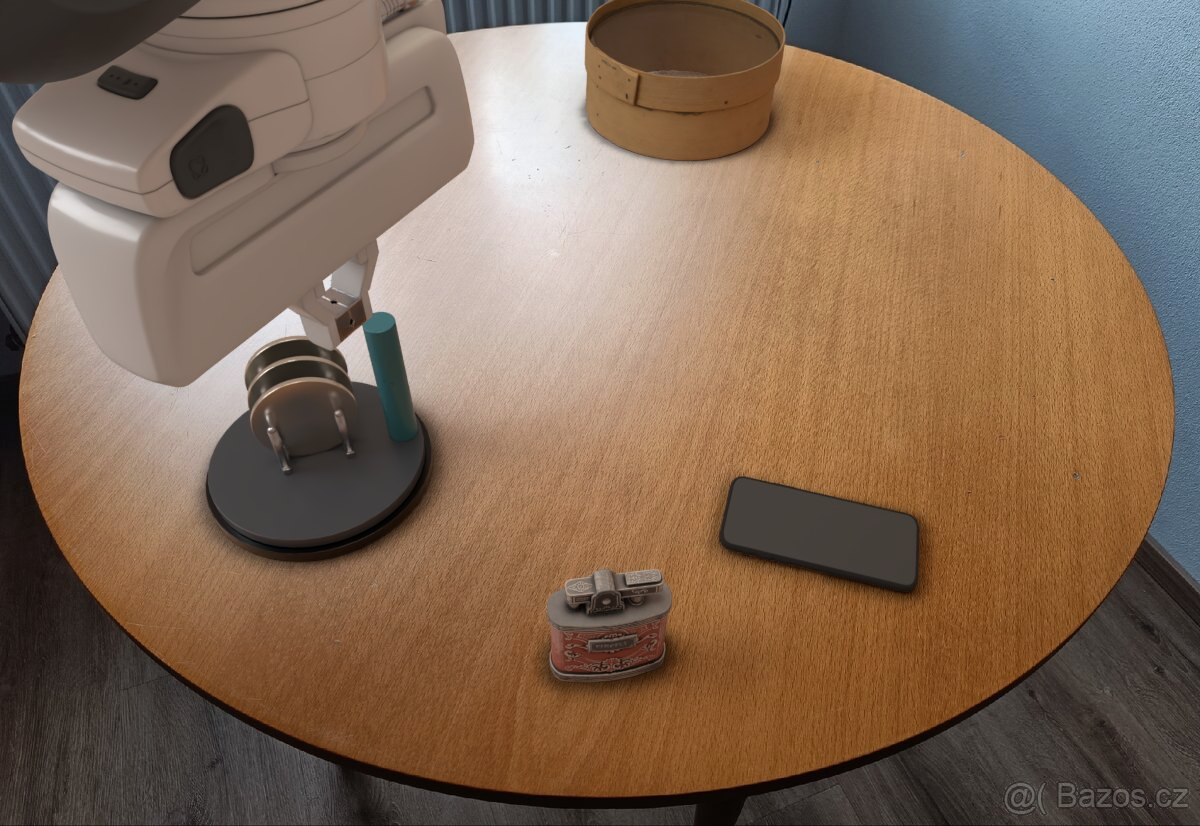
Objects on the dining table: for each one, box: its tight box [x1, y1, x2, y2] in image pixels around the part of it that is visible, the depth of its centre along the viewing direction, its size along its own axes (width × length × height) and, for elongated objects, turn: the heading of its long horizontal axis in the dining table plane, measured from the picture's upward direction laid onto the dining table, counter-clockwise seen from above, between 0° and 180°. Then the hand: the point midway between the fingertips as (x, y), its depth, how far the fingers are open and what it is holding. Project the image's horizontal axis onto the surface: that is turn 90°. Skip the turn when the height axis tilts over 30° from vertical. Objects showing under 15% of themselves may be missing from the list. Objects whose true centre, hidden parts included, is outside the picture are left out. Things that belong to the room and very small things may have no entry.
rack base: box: [205, 412, 434, 562], centre depth 71 cm, size 18×18×1 cm
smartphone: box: [718, 475, 920, 593], centre depth 67 cm, size 7×1×15 cm
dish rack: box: [207, 311, 425, 548], centre depth 66 cm, size 17×17×13 cm
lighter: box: [546, 568, 673, 683], centre depth 56 cm, size 8×3×10 cm, turn 99°
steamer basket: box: [584, 0, 787, 161], centre depth 110 cm, size 25×25×11 cm
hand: (341, 330), depth 42 cm, fingers closed
